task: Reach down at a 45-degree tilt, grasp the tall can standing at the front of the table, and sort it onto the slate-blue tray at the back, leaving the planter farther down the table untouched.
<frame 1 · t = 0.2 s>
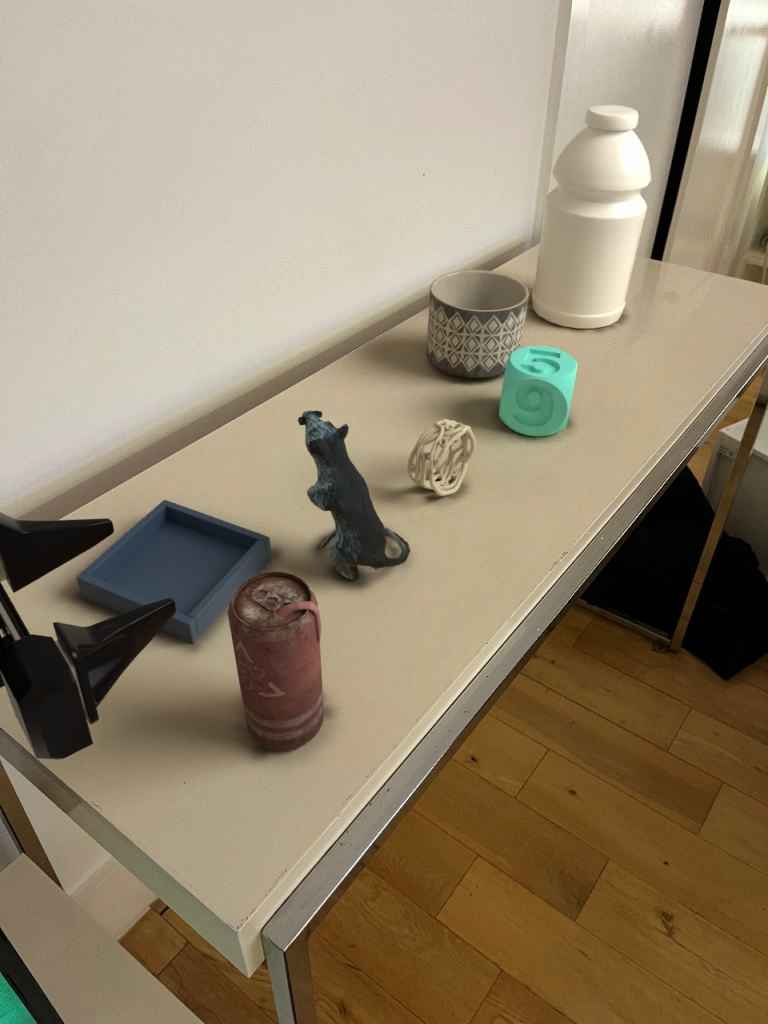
hand: (141, 562, 50), 18 cm above the table, tool horizontal, fingers open, 9 cm apart
planter: (472, 362, 107), on the table
bottle: (575, 311, 120), on the table
decorative dice: (533, 420, 96), on the table
can: (287, 722, 62), on the table
bracelet: (441, 487, 85), on the table
sculpture: (356, 556, 77), on the table
blue tray: (179, 575, 74), on the table
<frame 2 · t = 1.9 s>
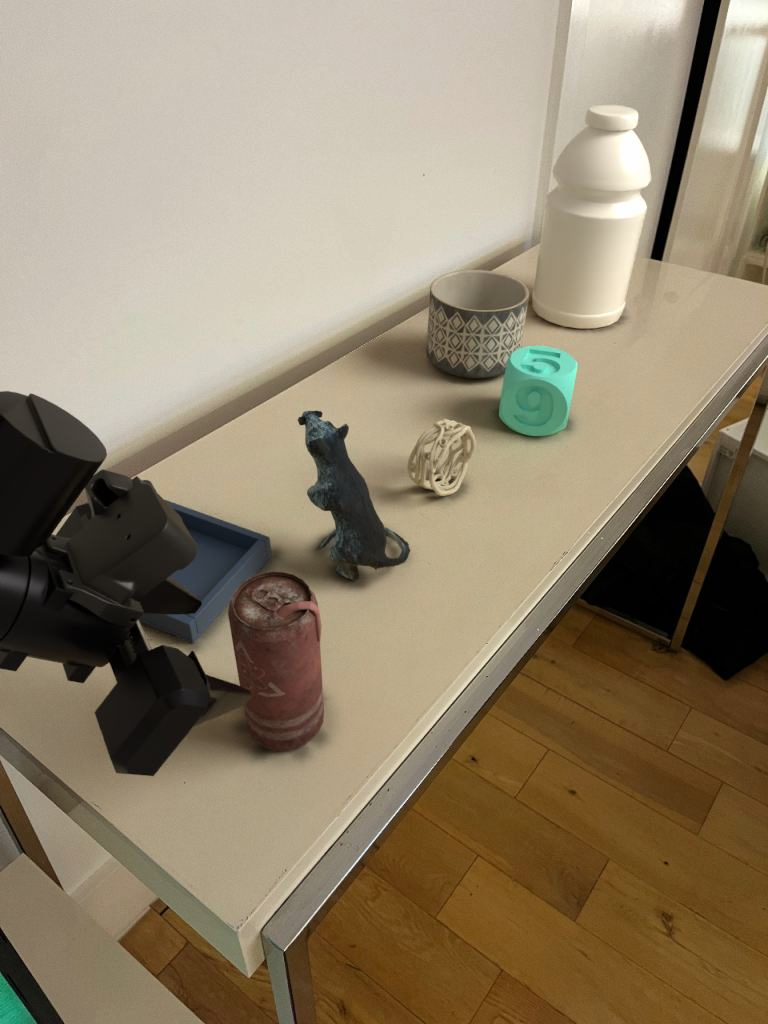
hand: (221, 650, 53), 11 cm above the table, tool tilted 45°, fingers open, 9 cm apart
nothing on the table moved.
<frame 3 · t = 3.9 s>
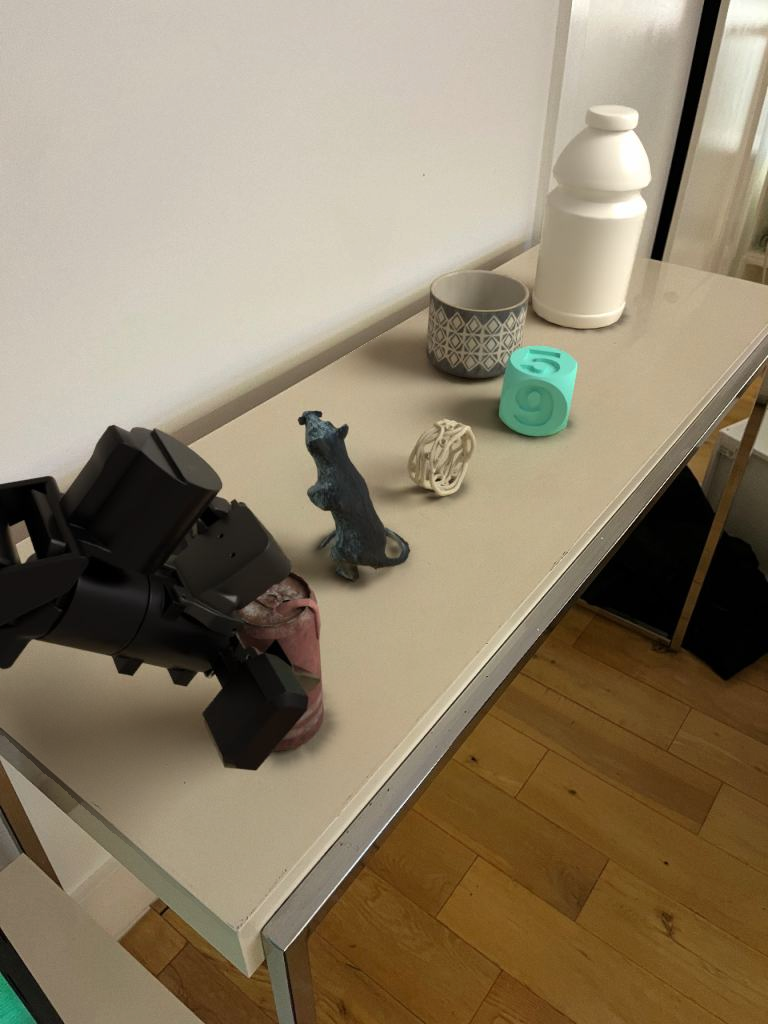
hand: (299, 656, 58), 7 cm above the table, tool tilted 45°, fingers closed on can, 5 cm apart
can: (287, 722, 62), on the table, touching gripper
everything else where it was.
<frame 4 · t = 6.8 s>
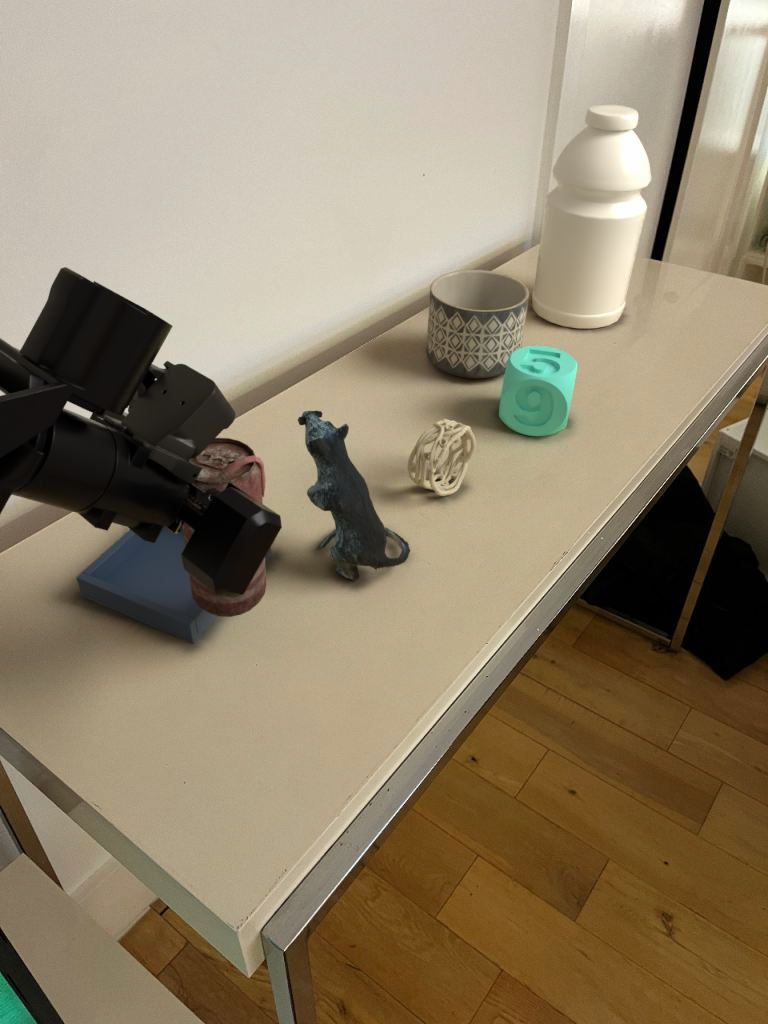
hand: (241, 520, 61), 12 cm above the table, tool tilted 45°, fingers closed on can, 5 cm apart
can: (231, 593, 65), point 5 cm above the table, touching gripper
everything else where it was.
when the fingers open (8 cm above the table, at t = 9.8 s): can stays where it is, resting on blue tray.
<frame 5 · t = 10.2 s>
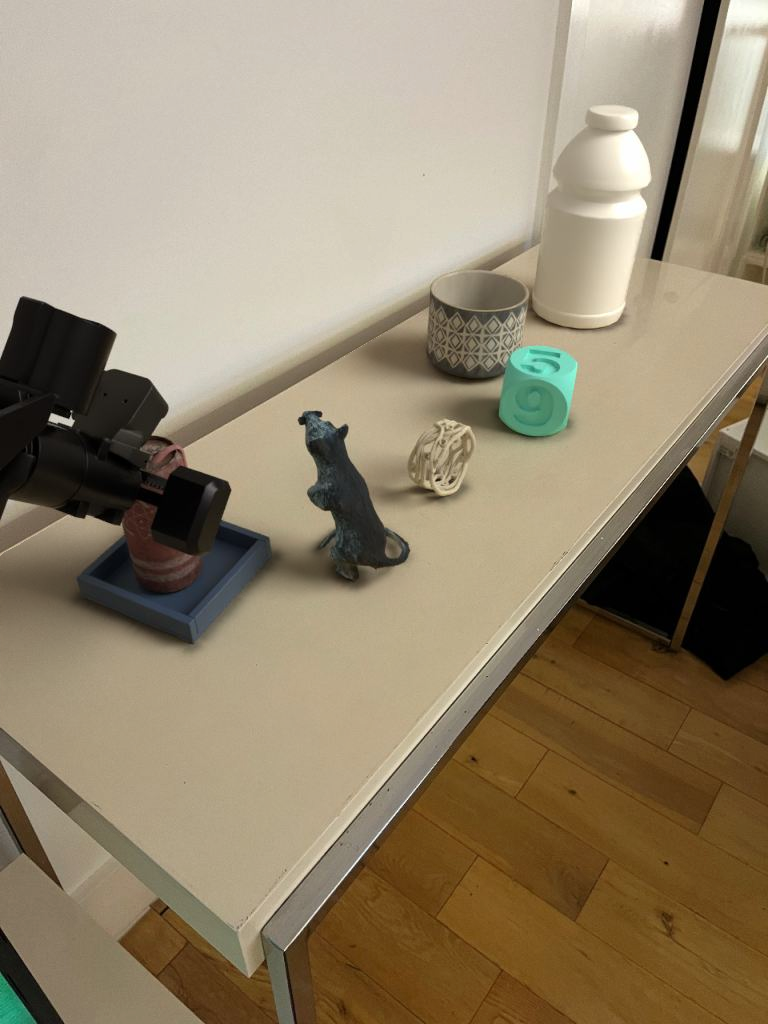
hand: (175, 500, 70), 8 cm above the table, tool tilted 45°, fingers open, 9 cm apart
can: (172, 574, 74), resting on blue tray
everything else where it was.
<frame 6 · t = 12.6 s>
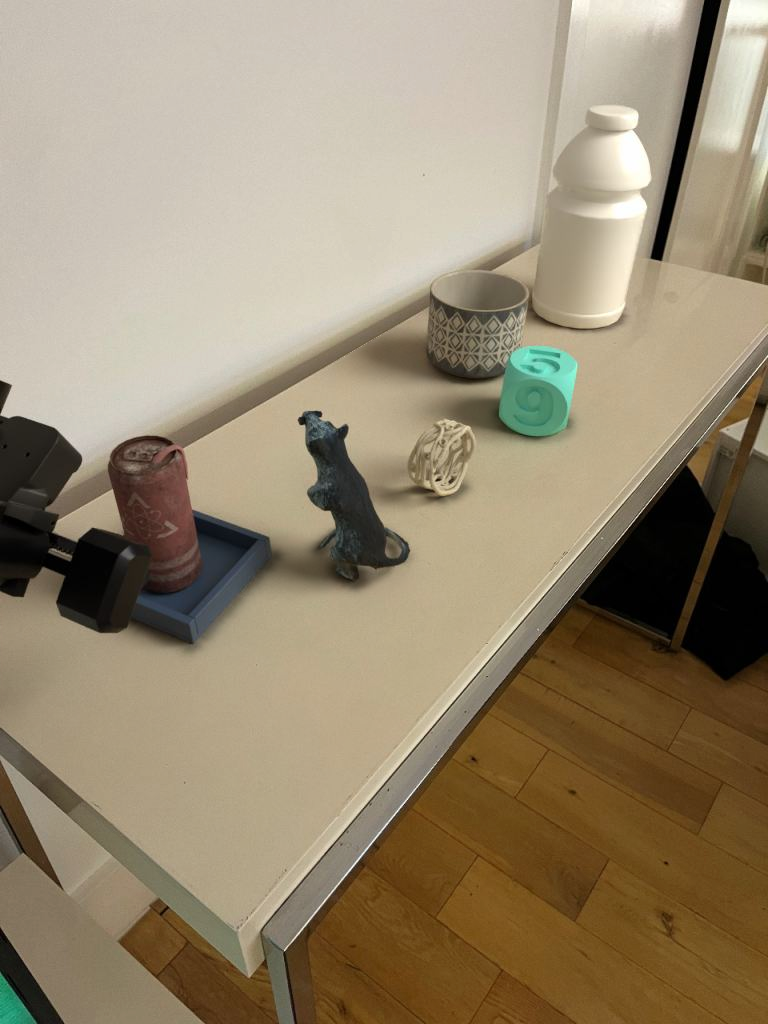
hand: (101, 558, 62), 10 cm above the table, tool tilted 45°, fingers open, 9 cm apart
nothing on the table moved.
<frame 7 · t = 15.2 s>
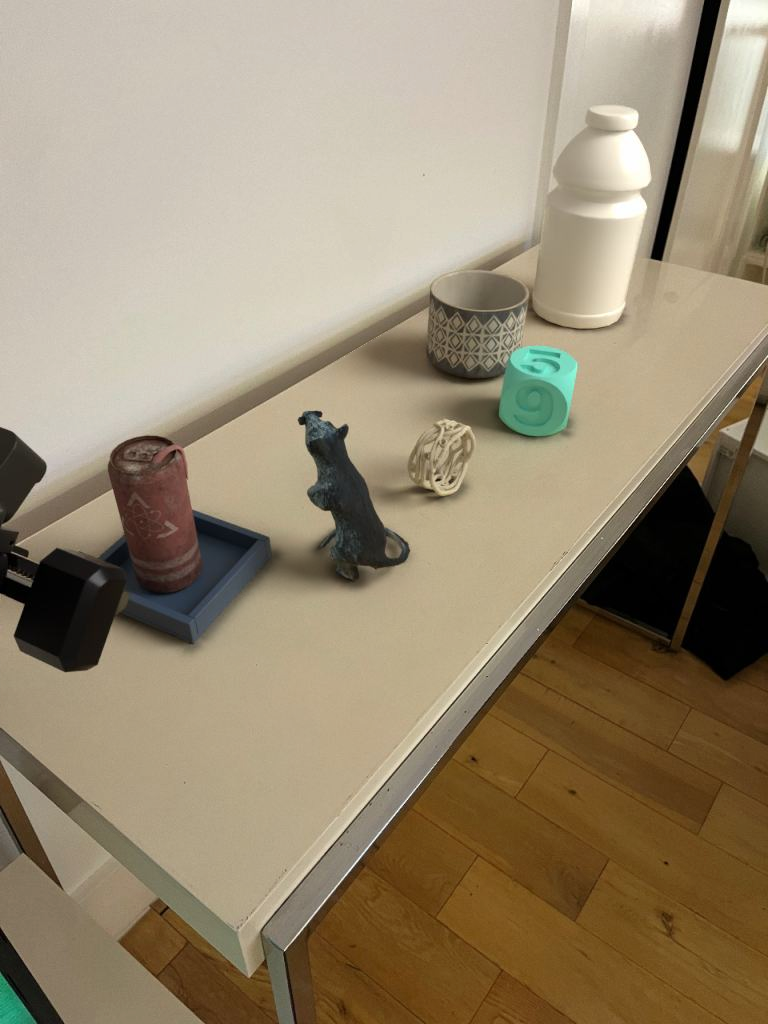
hand: (74, 577, 54), 14 cm above the table, tool tilted 45°, fingers open, 9 cm apart
nothing on the table moved.
at the end: can inside the target area in the blue tray (0.7 cm from its centre), point 0.3 cm above the blue tray's base; can tilted 0°; planter moved 0.2 cm from its start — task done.
